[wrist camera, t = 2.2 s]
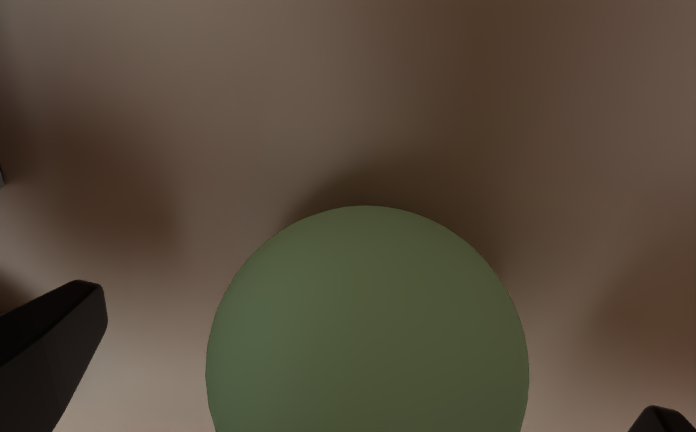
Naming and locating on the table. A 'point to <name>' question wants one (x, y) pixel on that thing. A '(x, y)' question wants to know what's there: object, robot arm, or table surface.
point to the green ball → (366, 332)
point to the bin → (1, 181)
